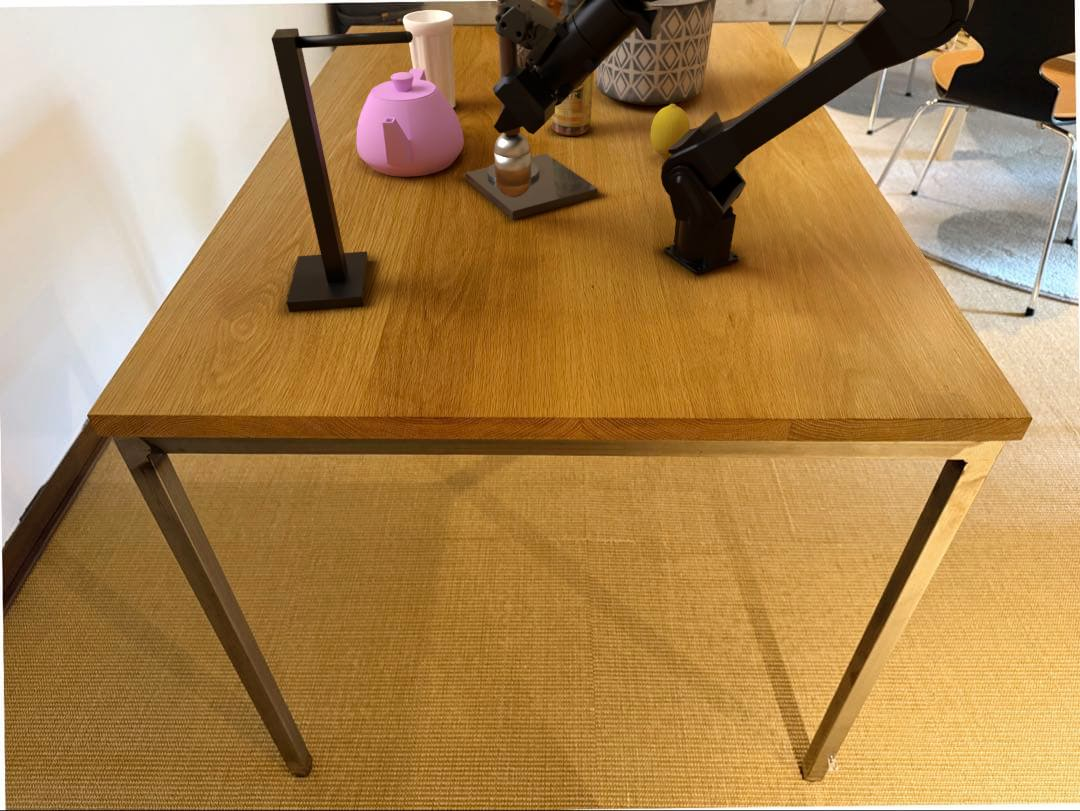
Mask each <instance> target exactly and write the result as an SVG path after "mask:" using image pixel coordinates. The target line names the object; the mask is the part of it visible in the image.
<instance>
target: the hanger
mask: <svg viewBox="0 0 1080 811" xmlns="http://www.w3.org/2000/svg"><path fill="white" fill-rule="evenodd" d="M412 40H413V35H412V33H411V32H409V31H406V30H397V31H379V32H360V33H359V32H358V33H355V32H354V33H338V34H337V33H336V34H335V33H334V34H318V35H314V34H313V35H300V32H299V29H298V28H297V27H295V28H294V27H293V28H276V29H275V31H274V32H273V34H272V37H271V44H272V48H273V50H274V51H273V52H274V56H275V61H276V65H277V69H278V73H279V78H280V82H281V86H282V91H283V96H284V99H285V100H284V101H285V104H286V108H287V113H288V117H289V121H290V127H291V131H292V134H293V139H294V144H295V148H296V152H297V157H298V160H299V166H300V170H301V174H302V179H303V181H304V188H305V192H306V195H307V200H308V204H309V209H310V212H311V213H310V214H311V218H312V221H313V226H314V231H315V235H316V239H317V243H318V248H319V253H320V254H311V255H298V256H297V259H296V262H295V267H294V271H293V275H292V278H291V283H290V287H289V290H288V294H287V299H286V306H287V310H288V312H299V311H311V310H324V309H325V310H327V309H339V308H352V307H353V308H354V307H363V306H364V304H365V303H364V302H365V296H366V285H367V277H368V276H367V275H368V267H369V255H368V251H353V252H352V251H351V252H345V249H344V245H343V244H344V243H343V240H342V235H341V231H340V225H339V220H338V216H337V211H336V206H335V202H334V196H333V192H332V191H333V190H332V186H331V181H330V177H329V171H328V167H327V163H326V158H325V153H324V148H323V143H322V139H321V134H320V128H319V123H318V118H317V114H316V109H315V105H314V104H315V103H314V100H313V95H312V91H311V85H310V80H309V76H308V71H307V65H306V61H305V56H304V52H303V49H313V48H317V49H318V48H333V47H336V48H337V47H354V46H374V45H395V44H409V43H410V42H411V41H412Z"/></svg>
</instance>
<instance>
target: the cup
mask: <svg viewBox="0 0 1080 811" xmlns="http://www.w3.org/2000/svg"><path fill="white" fill-rule="evenodd" d="M402 23H403V27H404V29H405V31H409V32H411V33H412V35H413V40H412V41H411V42H410V43H408V45H409V51H410V57H411V58H410V59H411V63H412V69H424V71H425V75H426V80H427V81H429V82H431V83H433V84H434V85H436V87H437V88H438V89H439V90H440V91H441V92H442V94H443V95H444V96H445V98H446V99H447V101H448V102H449V103H450V105H451V106H452V108H453V109H454V108H455V107H456V86H455V84H456V83H455V64H454V42H453V41H454V40H453V39H454V38H453V28H454V15H453V13H451V12H449V11H445V10H439V9H426V10H418V11H412V12H410V13H407V14H405V15H404V16H403V18H402Z"/></svg>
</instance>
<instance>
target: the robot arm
mask: <svg viewBox="0 0 1080 811" xmlns="http://www.w3.org/2000/svg"><path fill="white" fill-rule="evenodd" d="M654 1H658V0H584V1H583V2H582V3H581V4H580V5H579V6H578V7H577V8H576V9H575V10H574V11H573V12H572V13H569V14H567V15H566V16H565V17H564V19H563V18H562V19H561V18H559V17H558V16H556V15H555V14H554V13H553V12H551V11H550V10H549V9H547V8H545V7H544V6H542V5H540V4H539V3H537V2H536V1H534V0H505V1H504V4H503V7H502V10H501V11H500V12H499V13H498V14H497V13H496V14H495V17H494V20H495V22H496V24H495V26H494V31H495V33H496V34H497V35H498V34H499V35H500V36H502V37H506V38H508V39H510V40H511V41H513V42H515V43H517V44H519V45H520V46H522V47H524V48H525V49H528V50H531V51H530V52H529V53H528V54H527V55H526V58H527V59H528V60H527V61H526V62H525V67H516V66H515V67H514V68H513V69H512V70H511V71H509V72H508V73H507V74H506V75H505V76H503V78H502V79H501V80H500V79H499V81H498V82H496V84H495V85H494V86H493V87H492V90H493V94H494V96H495V97H496V98H497V99H498V100H499V101H500V102H501V104H502V103H503V104H504V106H505V107H504V109H503V111H502V110H501V112H500V114H499V116H498V117H497V120H496V121H495V124H494V125H493V128H494V130H495V131H496V132H497V133H498V134H503V133H504V132H507V131H510V130H513V129H517V128H520V129H521V128H524V130H525V131H526V132H527V133H529V134H531V135H534V134H536V133H537V132H538V131H539V130H540V129H541V128H542V127H543V126H545V124H546V123H547V122H549V120H550V119H551V116H552V115H553V114H554V113H555V106H557V105H560V104H561V103H562V102H563V101H564V100H565V99H566V98H567V97H568V96H569V95H570V94H571V93H572V92H573V90H574V89H577V88H578V87H579V86H580V85H581V84H582V83H583V82H584V81H585V80H586V79H587V78H588V77H589V76H590V74H591V73H592V72H593V71H594V72H595V71H596V68H597V67H598V66H599V65H600V64H601V63H602V62H603V61H604V60H605V59H606V58H607V57H608V56H609V55H610V54H611V53H612V52H613V51H614V50H615V49H616V48H617V47H618V46H619V45H620V44H621V43H622V42H623V41H624V40H625V39H626V38H627V37H628V36H629V35H630V34H631V33H632V32H634V31H635V30H636V29H637V28H638V30H639V31H640V32H641V34H642V35H643V37H644V38H645V39H646V40H649V39H651V38H653V37H655V36H656V35H658V34H659V33H660V32H661V20H660V19H661V14H662V11H663V9H662V7H653V6H650V5H649V4H648V2H654ZM876 1H877V3H878V4H880V6H881V8H879V9H878V11H877V12H876V13H875V14H874V15H873V16H872V17H871V18H870V19H868V21H866V23H864V25H863V26H862V27H860V28H859V29H858V30H857V31H856V32H855V33H853V34H852V35H851V36H849V37H847V38H846V39H844V41H842V42H840V43H839V44H838V45H837V46H835V47H834V48H832V49H831V50H829V51H828V52H826V53H825V54H823V55H822V56H821V57H819V58H818V59H817V60H815V61H814V62H813V63H811V64H810V65H808V66H807V67H806V68H804V69H803V70H801V71H800V72H798V73H797V74H796V75H794V76H793V77H791V78H789V80H787V81H785V83H783V84H781V85H780V86H779V87H777V88H776V89H774V90H773V91H772V92H770V93H769V94H767V95H766V96H765V97H763V98H762V99H760V100H759V101H758V102H756V103H755V104H754V105H752V106H750V107H749V108H748V109H747V110H744V112H742V113H741V114H739V115H737V116H735V117H733V118H730V119H726V120H725V121H722V119H721V117H720V115H719V113H718V111H714V112H713V113H712V114H711V115H710V116H709V117H708V118H707V119H706V120H705V121H704V122H702V124H700V125H699V126H697V127H694V128H690V130H689V131H688V132H687V133H686V134H685V135H684V136H683V137H682V138H680V139H679V140H678V141H677V142H676V143H675V144H674V145H673V146H672V147H671V148H670V149H669V150H668V152H669V153H670V154H672V155H671V156H670V157H669V158H668V159H667V160H666V159H665V161H664V162H663V164H662V166H661V171H660V172H661V173H660V180H661V185H662V187H663V189H664V191H665V192H666V194H668V197H669V200H670V204H671V208H672V211H673V216H674V219H675V225H674V234H673V243H674V244H671V245H667V246H665V247H663V253H664V254H665V255H667V256H668V257H670V259H672V260H674V261H675V262H677V263H678V264H679V265H680V266H682V267H684V268H685V269H686V270H688V271H690V272H691V273H693V274H694V275H702V274H705V273H708V272H711V271H714V270H716V269H719V268H723V267H725V266H728V265H731V264H734V263H738V262H739V261H740V255H738V254H737V253H735V252H734V251H732V244H733V238H734V232H735V226H736V220H737V214H736V213H734V208H733V206H732V205H733V204H734V203H735V201H736V200H738V198H740V196H741V194H742V193H743V191H744V189H745V187H747V186H746V185H747V181H746V180H745V178H744V177H743V176H742V175H741V173H740V172H739V171H738V169H737V167H738V165H739V164H740V163H741V162H742V161H744V159H745V158H747V157H748V156H749V155H750V154H752V153H753V152H755V151H756V150H758V149H760V148H761V147H763V146H764V145H766V144H767V143H769V142H771V141H772V140H773V139H775V138H776V137H777V136H780V135H781V134H782V133H784V132H785V131H787V130H788V129H790V128H791V127H793V126H795V125H796V124H797V123H799V122H800V121H802V120H804V119H805V118H807V117H808V116H810V115H811V114H813V113H814V112H816V111H817V110H819V109H820V108H822V107H823V106H825V105H827V104H828V103H829V102H831V101H833V100H834V99H835V98H837V97H839V96H840V95H842V94H843V93H845V92H847V91H848V90H849V89H850V88H852V87H854V86H856V85H857V84H858V83H860V82H861V81H863V80H864V79H866V78H868V77H869V76H870V75H874V74H875V73H877V72H880V71H883V70H886V69H889V68H892V67H896V66H898V65H902V64H905V63H907V62H909V61H912V60H914V59H916V58H918V57H921V56H922V55H925V54H927V53H930V52H932V51H934V50H936V49H938V48H941V47H942V46H944V45H946V44H947V43H949V42H950V41H951V40H953V38H955V37H956V36H957V35H958V34H959V32H960V31H961V30H962V29H963V27H964V25H965V23H966V21H967V19H968V18H969V15H970V12H971V11H972V8H973V6H974V3H975V0H876Z"/></svg>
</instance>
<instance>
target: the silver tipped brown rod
mask: <svg viewBox="0 0 1080 811" xmlns="http://www.w3.org/2000/svg"><path fill="white" fill-rule="evenodd" d="M504 1H505V0H496V15H497V14H498V13H499V12H500V11H501V10H502V7H503V4H504ZM497 36H498V38H497V39H498V59H499V76H500V79H499V81H500V80H501V79H502V78H503V76H505V75H506V74H507V73H508V72H509V71H511V70H512V69H513V68H514V67H515V66H516V67H518V63H517V43H515V42H513V41H511V40H510V39H508V38H506V37H502V36H500V35H499V34H497ZM504 107H505V106H504V104H503V103H502V102H501V112H502V111H503V109H504ZM531 150H532V149H531V145H530V142H529V140H528V139H527V137H526V136H525V135H524V134H522V133H521V127H520V128H517V129H513V130H510V131H507V132H504V133H501V134H500V135H499V136H498V138H497V139H496V141H495V143H494V147H493V156H494V163H495V175H496V184H497V187H498V188H499V190H500V191H501V192H502V193H503V194H504V195H506V196H508V197H519V196H521V195H523V194H525V193H526V192H527V190H528V189H529V187H530V184H531V157H532V153H531V152H532V151H531Z"/></svg>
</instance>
